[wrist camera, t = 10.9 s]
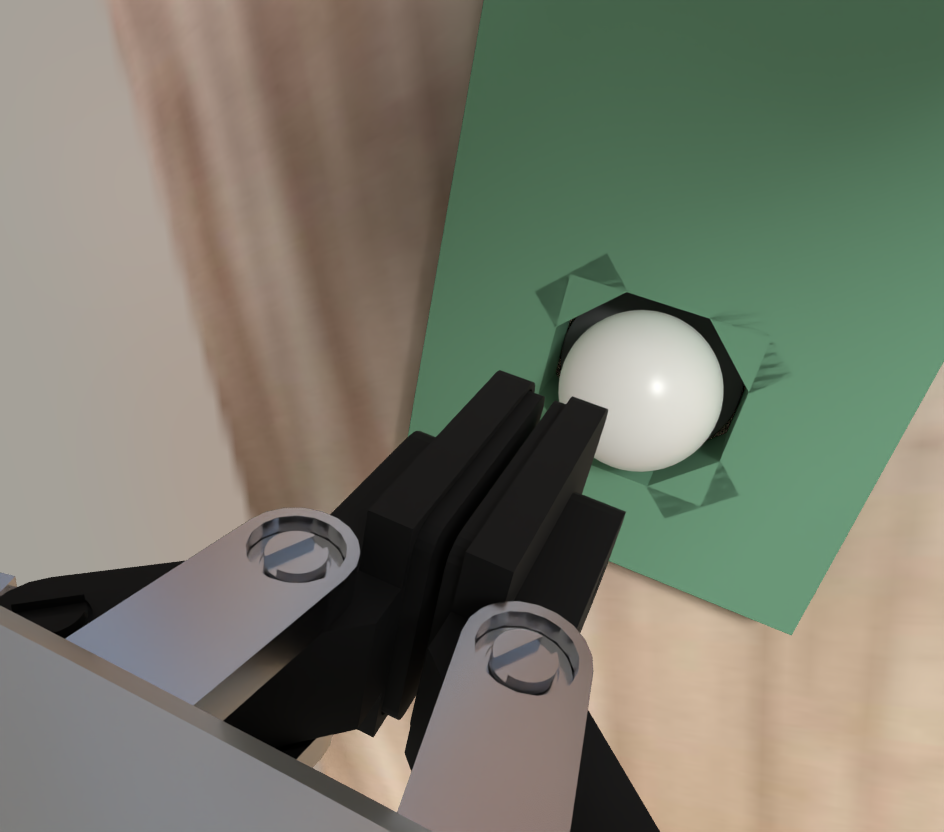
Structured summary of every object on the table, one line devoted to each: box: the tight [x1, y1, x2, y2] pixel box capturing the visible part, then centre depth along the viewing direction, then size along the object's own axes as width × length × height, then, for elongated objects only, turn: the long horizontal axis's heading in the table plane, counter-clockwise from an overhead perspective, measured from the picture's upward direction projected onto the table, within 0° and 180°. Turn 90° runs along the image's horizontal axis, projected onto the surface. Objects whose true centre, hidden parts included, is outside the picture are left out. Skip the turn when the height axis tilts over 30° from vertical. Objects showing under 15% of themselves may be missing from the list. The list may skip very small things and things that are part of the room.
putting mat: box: [408, 0, 944, 635], centre depth 29 cm, size 26×18×2 cm
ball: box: [558, 310, 723, 472], centre depth 30 cm, size 6×6×6 cm
